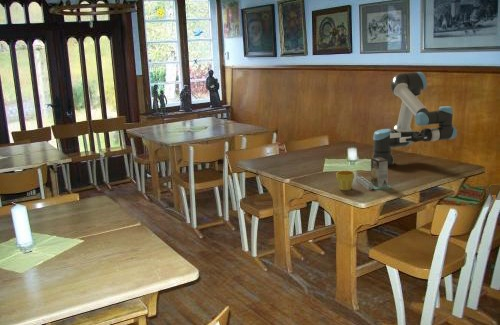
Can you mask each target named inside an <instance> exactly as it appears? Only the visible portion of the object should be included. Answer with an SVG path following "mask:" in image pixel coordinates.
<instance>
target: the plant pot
mask: <svg viewBox="0 0 500 325" xmlns="http://www.w3.org/2000/svg"><path fill="white" fill-rule="evenodd" d="M335 176H336V180H337V182H338V185H339V186H338V187H339V189H340V190H341V191H350V190H352V187H353V181H354V179H355V172H354V171H351V170H340V171H337V172H336V174H335Z"/></svg>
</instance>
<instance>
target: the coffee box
mask: <svg viewBox="0 0 500 325" xmlns="http://www.w3.org/2000/svg"><path fill="white" fill-rule="evenodd" d="M388 167H389V166H388V160H386V159H384V158H382V157H376V158H372V157H371V158H370V176H371V177H370V182H371V183H372V184H374V186H376V187H378V188H382V187H388V185H389V182H388V181H389V180H388V179H389V178H388V176H389V175H388V174H389V171H388V170H389V168H388Z"/></svg>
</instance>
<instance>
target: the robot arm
mask: <svg viewBox="0 0 500 325" xmlns="http://www.w3.org/2000/svg"><path fill="white" fill-rule="evenodd" d="M427 84H428V82H427V78H426V75H425V73H423V72H422V71H413V72H400V73H397V74H396V75H394V76H393V77H392V79H391V80H390V85H389V86H390V90H391V92H392V94H394V96H395V97H398V98H399V99H400V100H401V105H400V109H399V114H398V119H397V123H396V124H395V125H394V127H393V130H391V129H390V128H381V129H378V130H376V131H374V133H373V138H372V140H373V154H372V157H371V158H376V157H382V158H384V159H386V160H388V167H389V166H393V165H394V164H395V161H394V160H395V159H394V156H393V154H392V149H395V148H401V147H402V148H403V147H404V148H405V147H408V146H410V145H411V144H412V143H417V142H421V141H423V142H436V141H445V140H453V139H455V138H456V137H457V135H458V131H457V127H456V126H454V125H453V116H454V115H453V114H454V111H453V107H452V106H448V105H444V106H439V108H438V110H433V111H432V110H431V111H430V110H428V108H427V107H426V106H425V105H424V104H423V103H422V102H421V101H420V100H419V98H418V96H421V93H422V91H424V90H425V89H427ZM413 116H414V122H415V124H416V125H417V126H419V127H420V126H421V127H422V126H430V125H438V126H437V127H429V128H423V129H421V130H420V131H417V130H416V131H413V129H412V128H411V124H412V120H413Z"/></svg>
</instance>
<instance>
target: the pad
mask: <svg viewBox="0 0 500 325" xmlns="http://www.w3.org/2000/svg"><path fill="white" fill-rule="evenodd" d="M387 189H388V190H389V189H392V186H391V185H389V184H388V187H382V188H378V187H376V186H374V190H375V191H378V190H387Z"/></svg>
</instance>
